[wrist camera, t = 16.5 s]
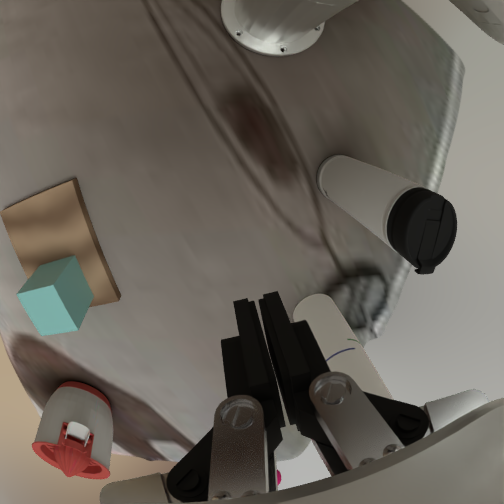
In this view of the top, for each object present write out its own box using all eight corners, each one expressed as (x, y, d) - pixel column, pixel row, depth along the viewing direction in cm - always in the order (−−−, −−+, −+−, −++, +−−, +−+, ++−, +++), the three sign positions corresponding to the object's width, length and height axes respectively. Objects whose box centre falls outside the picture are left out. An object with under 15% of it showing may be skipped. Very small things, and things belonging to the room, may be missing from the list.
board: (5, 208, 31) (-1, 212, 30) (76, 177, 32) (72, 180, 30) (51, 309, 39) (47, 315, 38) (121, 295, 40) (118, 301, 39)
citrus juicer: (129, 389, 49) (119, 479, 31) (110, 423, 54) (101, 496, 37) (57, 357, 44) (26, 443, 26) (49, 398, 49) (29, 469, 31)
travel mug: (312, 200, 38) (397, 277, 21) (319, 151, 35) (420, 194, 18) (353, 203, 39) (448, 274, 22) (361, 157, 36) (470, 203, 19)
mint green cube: (39, 265, 34) (16, 294, 27) (75, 255, 35) (53, 284, 28) (59, 303, 37) (41, 335, 31) (94, 296, 38) (78, 330, 31)
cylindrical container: (294, 296, 45) (361, 437, 22) (337, 291, 46) (418, 416, 23) (291, 331, 48) (343, 464, 26) (330, 325, 49) (395, 446, 27)
